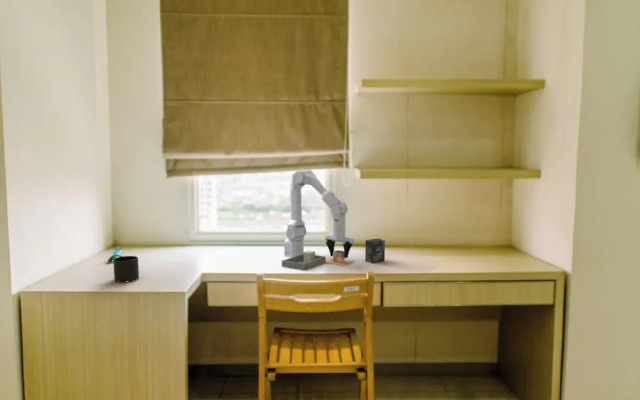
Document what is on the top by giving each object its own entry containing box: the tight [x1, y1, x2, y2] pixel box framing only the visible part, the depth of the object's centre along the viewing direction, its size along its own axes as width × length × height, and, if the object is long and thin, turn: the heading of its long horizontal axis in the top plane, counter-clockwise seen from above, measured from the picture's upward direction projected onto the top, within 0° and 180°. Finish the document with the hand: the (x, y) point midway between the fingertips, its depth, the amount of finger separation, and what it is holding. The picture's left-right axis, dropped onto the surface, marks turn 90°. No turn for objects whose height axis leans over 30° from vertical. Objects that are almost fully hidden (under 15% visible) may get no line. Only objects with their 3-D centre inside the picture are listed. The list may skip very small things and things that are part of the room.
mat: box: [324, 258, 354, 267], centre depth 218 cm, size 10×10×1 cm
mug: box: [112, 255, 140, 283], centre depth 191 cm, size 9×12×9 cm
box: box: [364, 238, 386, 264], centre depth 220 cm, size 8×6×11 cm
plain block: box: [304, 250, 316, 263], centre depth 218 cm, size 4×4×5 cm
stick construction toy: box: [106, 245, 123, 263], centre depth 223 cm, size 12×7×8 cm
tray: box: [281, 253, 326, 271], centre depth 214 cm, size 13×18×3 cm
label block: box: [332, 249, 346, 263], centre depth 217 cm, size 4×4×5 cm
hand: (339, 256), depth 217 cm, fingers open, 7 cm apart
